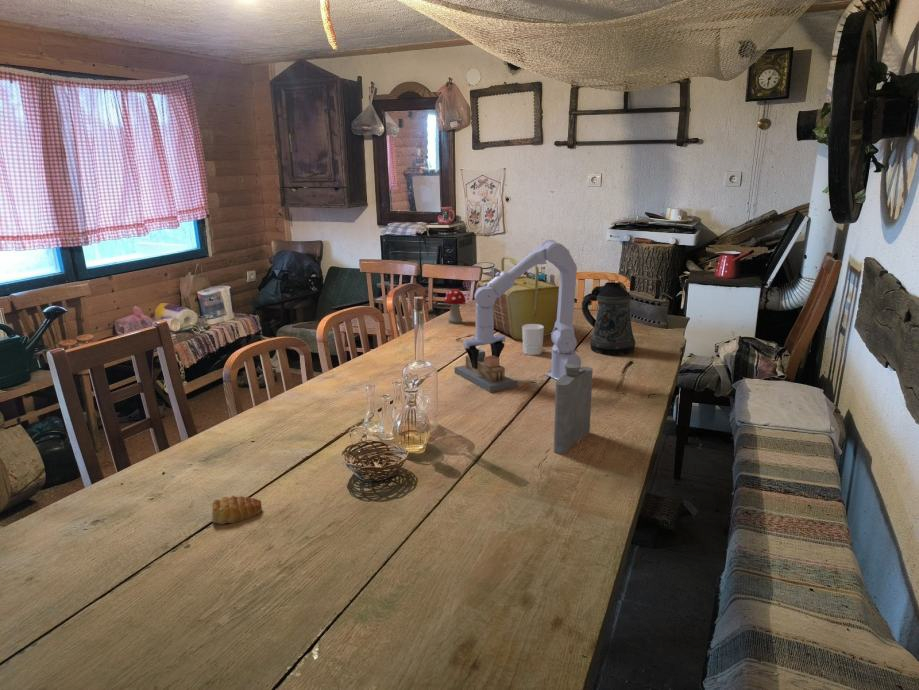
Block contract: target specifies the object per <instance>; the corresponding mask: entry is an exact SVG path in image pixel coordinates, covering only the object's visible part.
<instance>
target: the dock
mask: <svg viewBox="0 0 919 690" xmlns="http://www.w3.org/2000/svg"><path fill="white" fill-rule="evenodd" d="M454 374H456V375H457V374H458V375H457V376H459V375H460V376H459V377H462V378H463V379H465V380H467V381H468V380H469V382H470V383H472V384H474V385H476V386H478V387H479V386H480V388H481V389H483V390H485V391H487V392H489V393H493V391H494V392H499V391H502V390H508V389H511V388H516V387H518V379H516V378H514V377H512V376H511V375H507V374H506V373H505V380H501V381H497V382H493V381H491V380H489V379H487V378H485V377H483V376H481V375H479V374H477V373H475V372H473V371H471V370H469V369H467V368H466V364H464V365H459V366H454ZM498 390H499V391H498Z"/></svg>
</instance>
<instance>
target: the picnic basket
mask: <svg viewBox="0 0 919 690" xmlns="http://www.w3.org/2000/svg"><path fill="white" fill-rule="evenodd" d="M505 260H507V261H508V260H509V262H510V263H511V264H513V265H514V266H515V265H517V264H518V263H519V262H520V261H517V260H515V259H514V258H513V257H509V256H502V258H501V259H500V273H501V272H502V271H505ZM533 267H534V269H535V271H534V278H531V277H527V276H526V275H525V276H524V275H521V276H519V277H518V278H516V279H515V281H514V286H513V287H511V288H510V289H509V290H507V291H506V292H505V293H504V294H502V295H501V296H500V297H499V298H496V299H495V303H494V304H493V311H494V329H496V330H497V331H500V332H503V333H504V334H506V335H508V336H509V337H510V336H511V337H512V338H513V339H515V340H523V337H522V326H523V325H526V324H539V325H542V326H544V333H543V337H547V336H549V335H550V336H551V333H552V331H553V330H554V326H555V322H556V320H557V309H558V295H559V285H555V284H552V283H549V282H544V281H541V280H539V274H540V270H539V269H540V268H539V266H538V264H537V265H535V266H533ZM492 279H493V278H489V279H488V278H486V279H481V280H479V281H478V282H477V284H476V285H475V286H476V288H475V289H476V290H477V289H478V288H480V287H485V286H484V283H488V282H489V281H491V280H492ZM497 295H498V294H497Z"/></svg>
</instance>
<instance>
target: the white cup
mask: <svg viewBox="0 0 919 690" xmlns="http://www.w3.org/2000/svg"><path fill="white" fill-rule="evenodd" d="M543 333H544V326H542V325H539V324H526V325H523V326H522V337H523V339H522V352H523V353H524V355H528V356H538V355H540V354H542V352H543V345H544V344H543V343H544V336H543Z"/></svg>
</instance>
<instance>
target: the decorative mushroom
mask: <svg viewBox="0 0 919 690" xmlns="http://www.w3.org/2000/svg"><path fill="white" fill-rule="evenodd" d="M443 302H444V303H445V304H448V305H450V308H449V309H450V310H449V315H448V318H447V321H448V323H449V324H453V325H461V324H462V323H463V317H462V315H461V309H460V305H463V304H465V303H466V302H467V301H466V297H465V296H464V294H463V292H462V291H461V290H459V289H456V288H453V289H450V290H448V291H447V292H446V294H445V296H444V299H443Z"/></svg>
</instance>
